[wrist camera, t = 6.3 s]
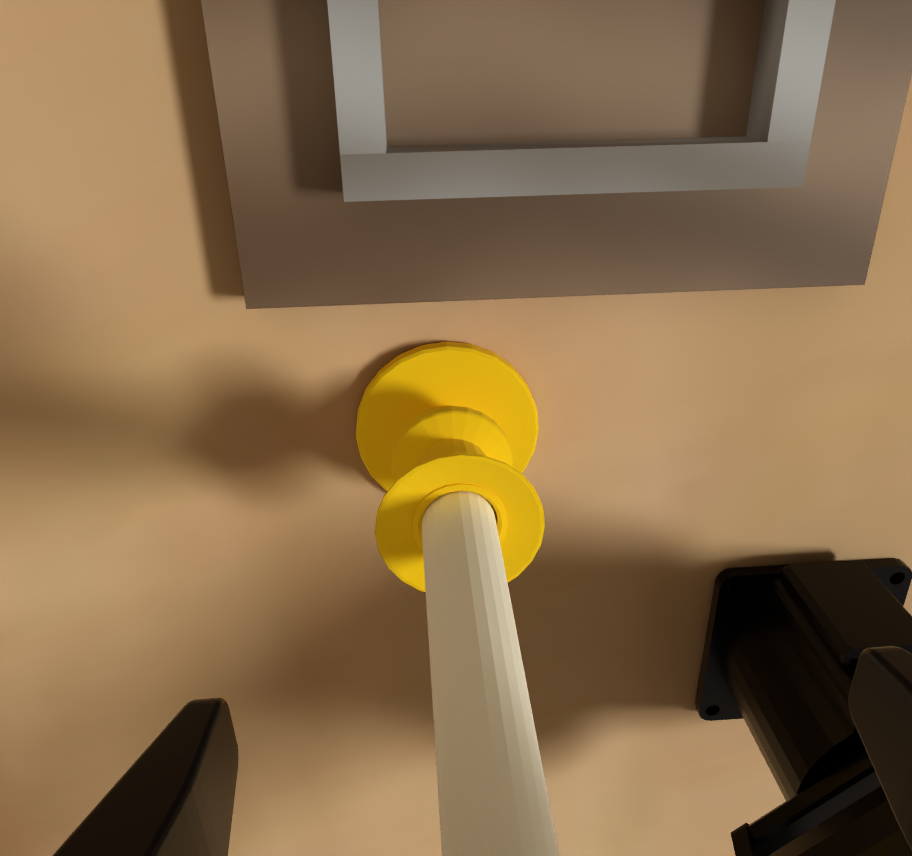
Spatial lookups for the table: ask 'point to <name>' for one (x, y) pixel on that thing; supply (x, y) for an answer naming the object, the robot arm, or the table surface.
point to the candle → (465, 576)
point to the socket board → (554, 144)
